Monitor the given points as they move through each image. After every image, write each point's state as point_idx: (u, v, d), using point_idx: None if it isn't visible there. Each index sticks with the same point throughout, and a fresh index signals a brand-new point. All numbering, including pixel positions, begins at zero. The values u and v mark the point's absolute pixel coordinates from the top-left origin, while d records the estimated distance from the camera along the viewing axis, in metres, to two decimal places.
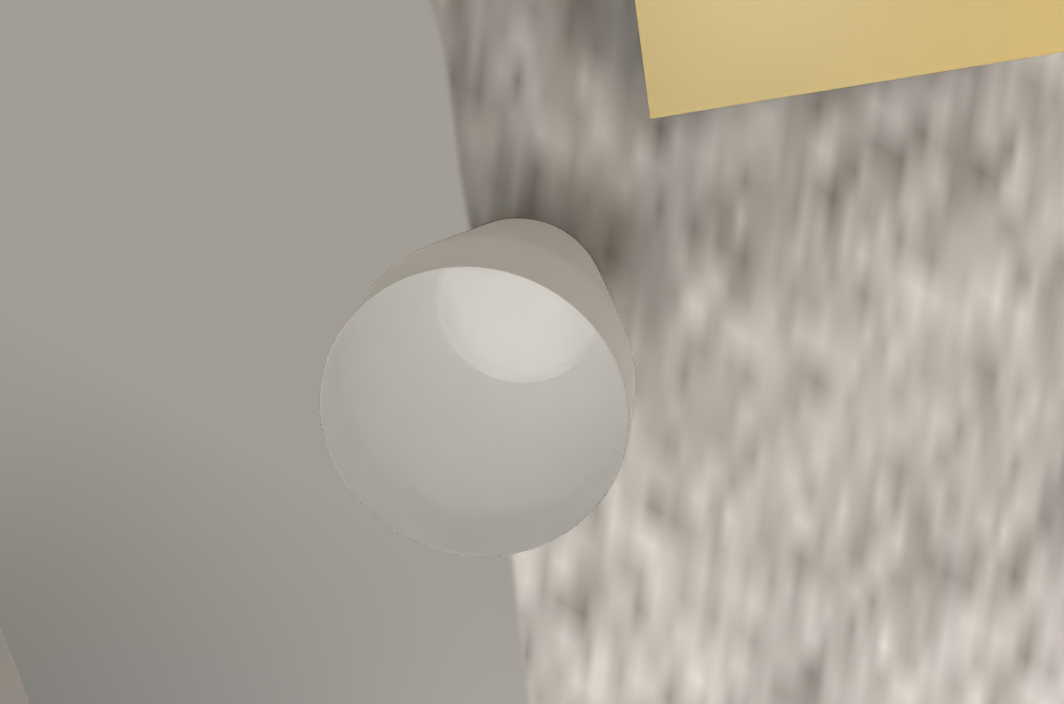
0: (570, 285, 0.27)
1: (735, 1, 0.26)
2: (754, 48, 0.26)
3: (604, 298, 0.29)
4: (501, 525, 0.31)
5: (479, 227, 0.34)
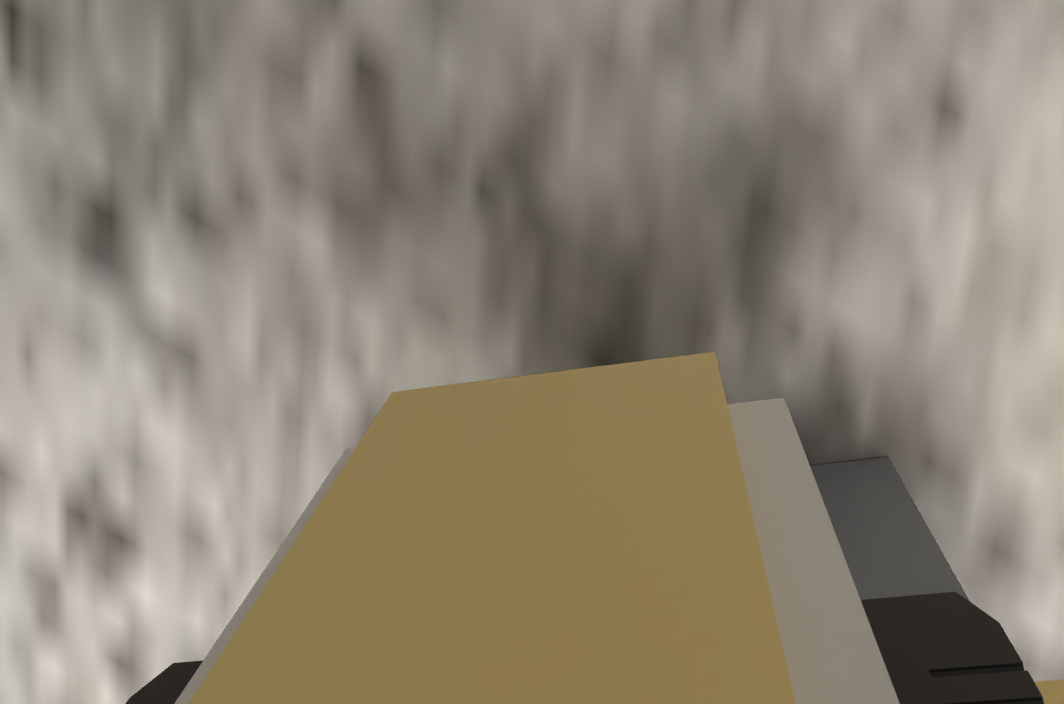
0: None
1: None
2: None
3: None
4: None
5: None
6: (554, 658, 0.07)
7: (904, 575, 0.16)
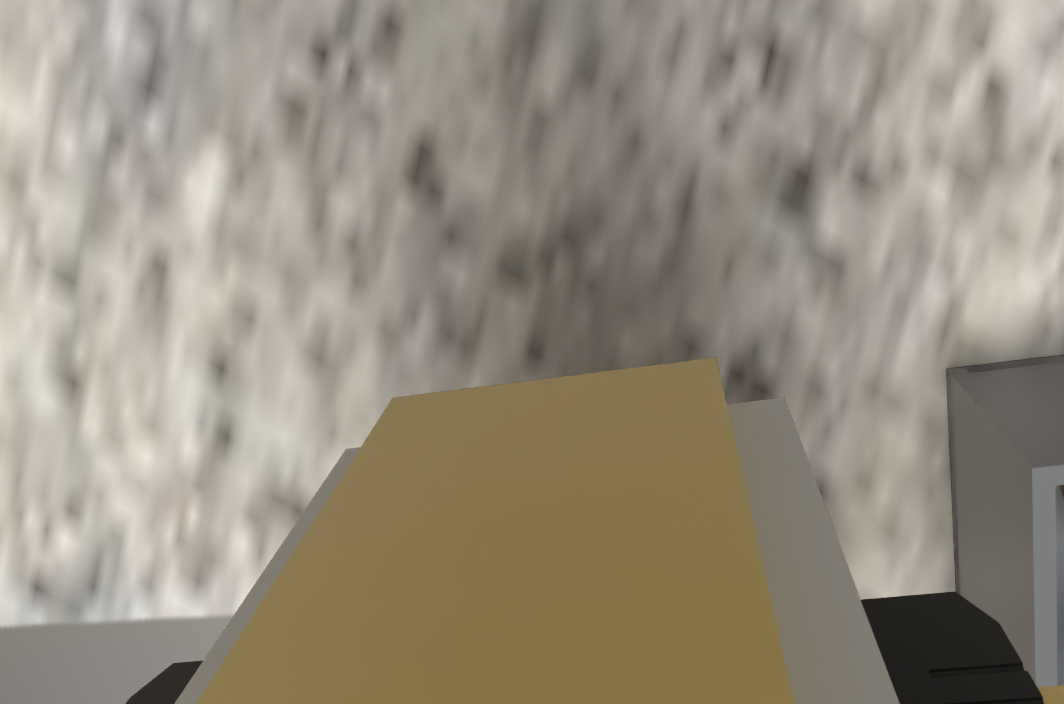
0: None
1: None
2: None
3: None
4: None
5: None
6: (556, 667, 0.07)
7: None
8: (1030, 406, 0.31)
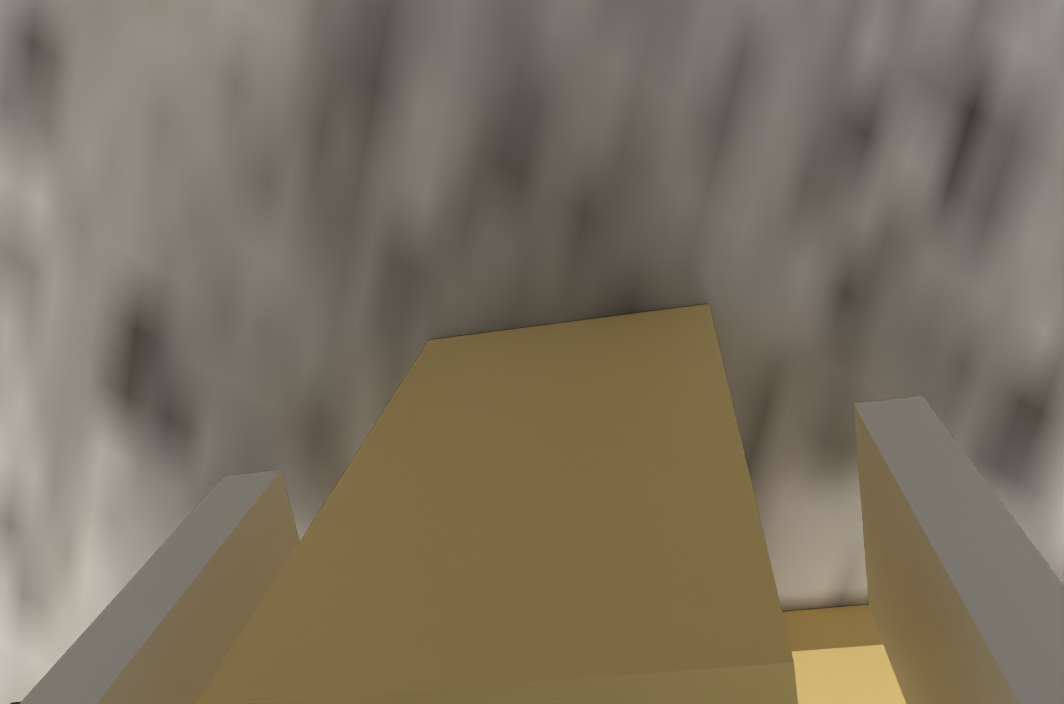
0: None
1: None
2: None
3: None
4: None
5: None
6: (580, 513, 0.08)
7: None
8: None
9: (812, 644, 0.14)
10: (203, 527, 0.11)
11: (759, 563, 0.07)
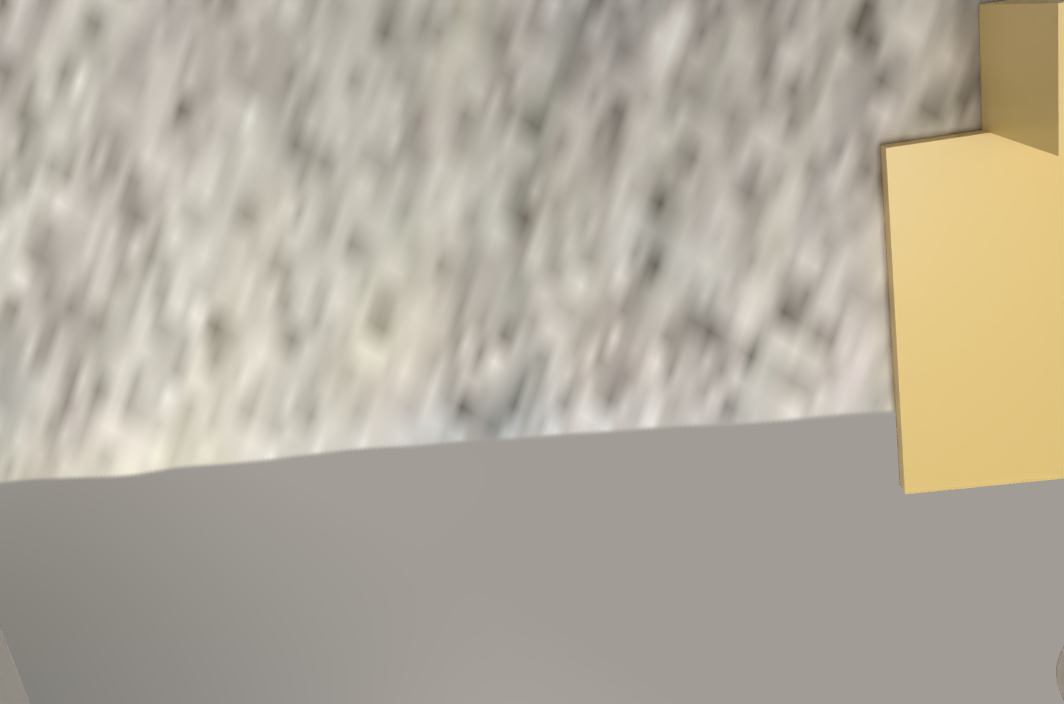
0: None
1: (962, 435, 0.45)
2: (971, 460, 0.45)
3: None
4: None
5: None
6: None
7: None
8: None
9: None
10: None
11: None
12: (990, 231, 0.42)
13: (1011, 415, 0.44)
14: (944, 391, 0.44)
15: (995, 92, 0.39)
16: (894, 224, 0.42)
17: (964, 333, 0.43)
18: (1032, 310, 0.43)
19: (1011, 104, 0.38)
